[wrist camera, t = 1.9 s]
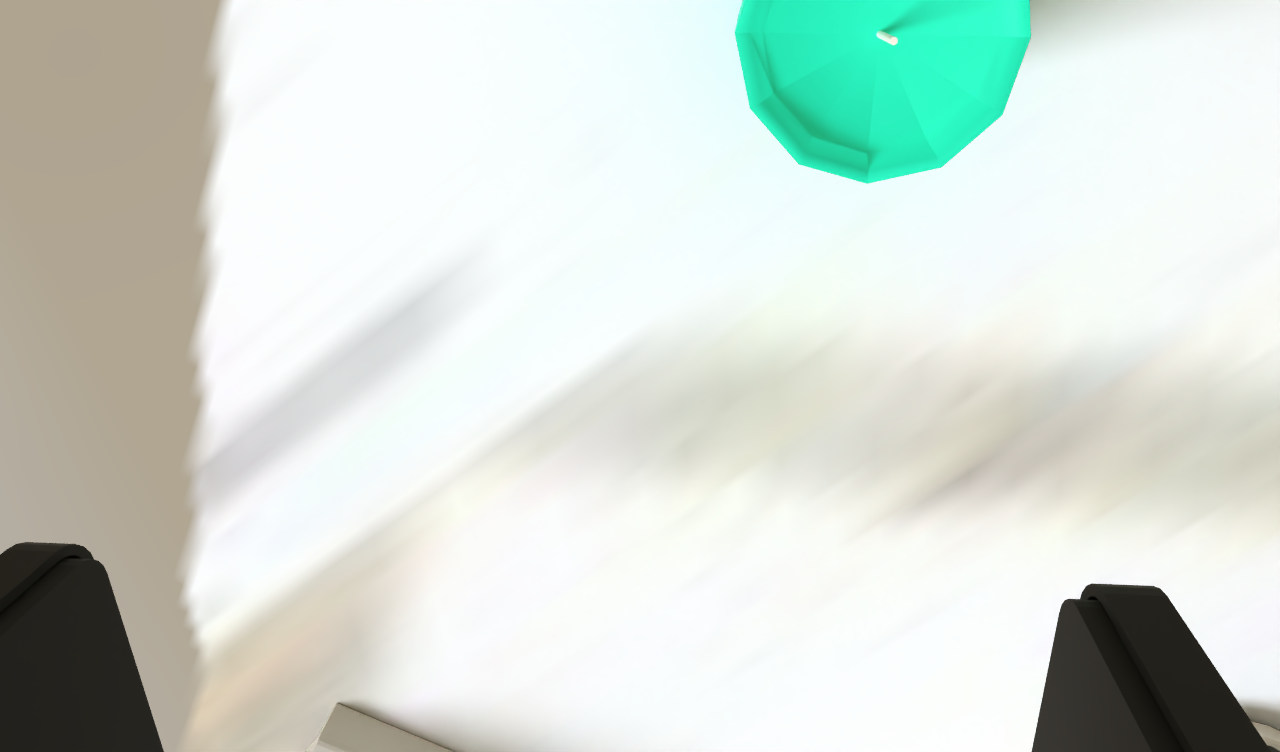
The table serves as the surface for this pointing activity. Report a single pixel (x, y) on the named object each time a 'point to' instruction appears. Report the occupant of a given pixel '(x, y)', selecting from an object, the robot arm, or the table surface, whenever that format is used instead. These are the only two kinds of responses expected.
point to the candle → (879, 78)
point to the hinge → (366, 735)
